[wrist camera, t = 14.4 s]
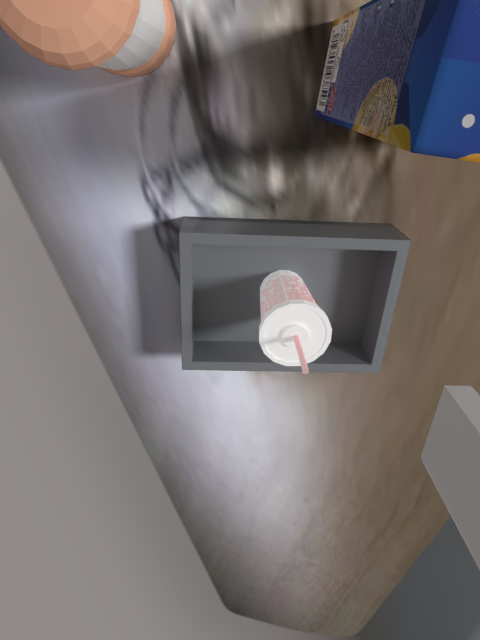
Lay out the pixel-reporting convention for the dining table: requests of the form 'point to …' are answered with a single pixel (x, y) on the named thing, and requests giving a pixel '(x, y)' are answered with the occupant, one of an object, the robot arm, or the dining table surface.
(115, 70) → the pepper shaker
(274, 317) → the beverage cup
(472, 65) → the beverage box
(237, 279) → the box
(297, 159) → the dining table surface
